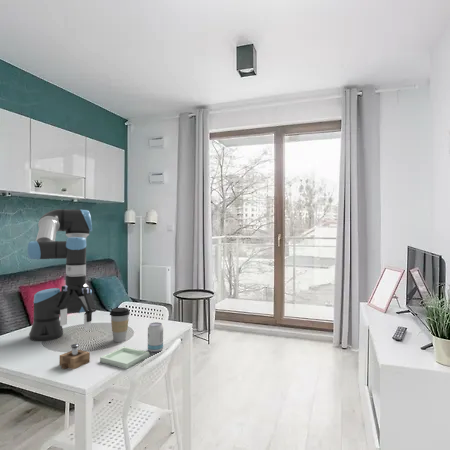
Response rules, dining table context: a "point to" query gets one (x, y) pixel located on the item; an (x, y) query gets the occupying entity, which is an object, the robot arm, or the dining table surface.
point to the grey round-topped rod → (74, 349)
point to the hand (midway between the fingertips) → (75, 327)
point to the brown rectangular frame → (74, 359)
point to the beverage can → (155, 337)
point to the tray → (124, 357)
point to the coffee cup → (119, 323)
